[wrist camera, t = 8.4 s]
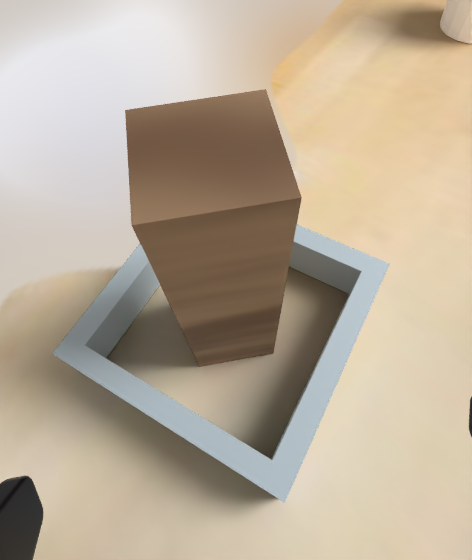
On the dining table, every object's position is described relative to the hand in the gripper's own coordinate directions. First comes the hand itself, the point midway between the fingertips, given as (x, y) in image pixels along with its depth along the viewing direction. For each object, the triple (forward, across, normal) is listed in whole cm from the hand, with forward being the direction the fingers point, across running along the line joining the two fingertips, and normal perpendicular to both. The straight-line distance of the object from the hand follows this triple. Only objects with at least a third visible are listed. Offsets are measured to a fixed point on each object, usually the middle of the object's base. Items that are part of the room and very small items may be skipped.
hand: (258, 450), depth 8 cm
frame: (+15, 0, +4) cm, 15 cm away
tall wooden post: (+15, 0, +4) cm, 15 cm away
